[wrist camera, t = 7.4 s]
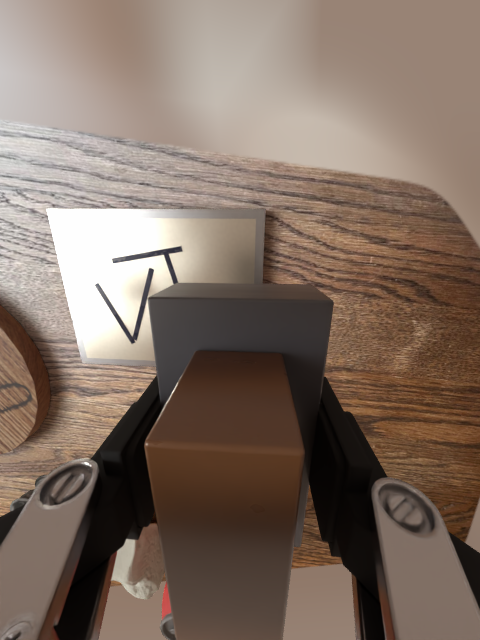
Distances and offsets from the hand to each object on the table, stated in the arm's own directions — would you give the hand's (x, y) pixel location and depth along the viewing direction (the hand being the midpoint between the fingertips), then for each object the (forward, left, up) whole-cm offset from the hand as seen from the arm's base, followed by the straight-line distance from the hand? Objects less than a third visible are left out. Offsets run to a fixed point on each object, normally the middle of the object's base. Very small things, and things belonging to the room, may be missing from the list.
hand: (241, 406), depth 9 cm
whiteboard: (+9, -1, -15) cm, 18 cm away
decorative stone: (+17, +37, -16) cm, 43 cm away
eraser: (0, 0, -1) cm, 1 cm away
